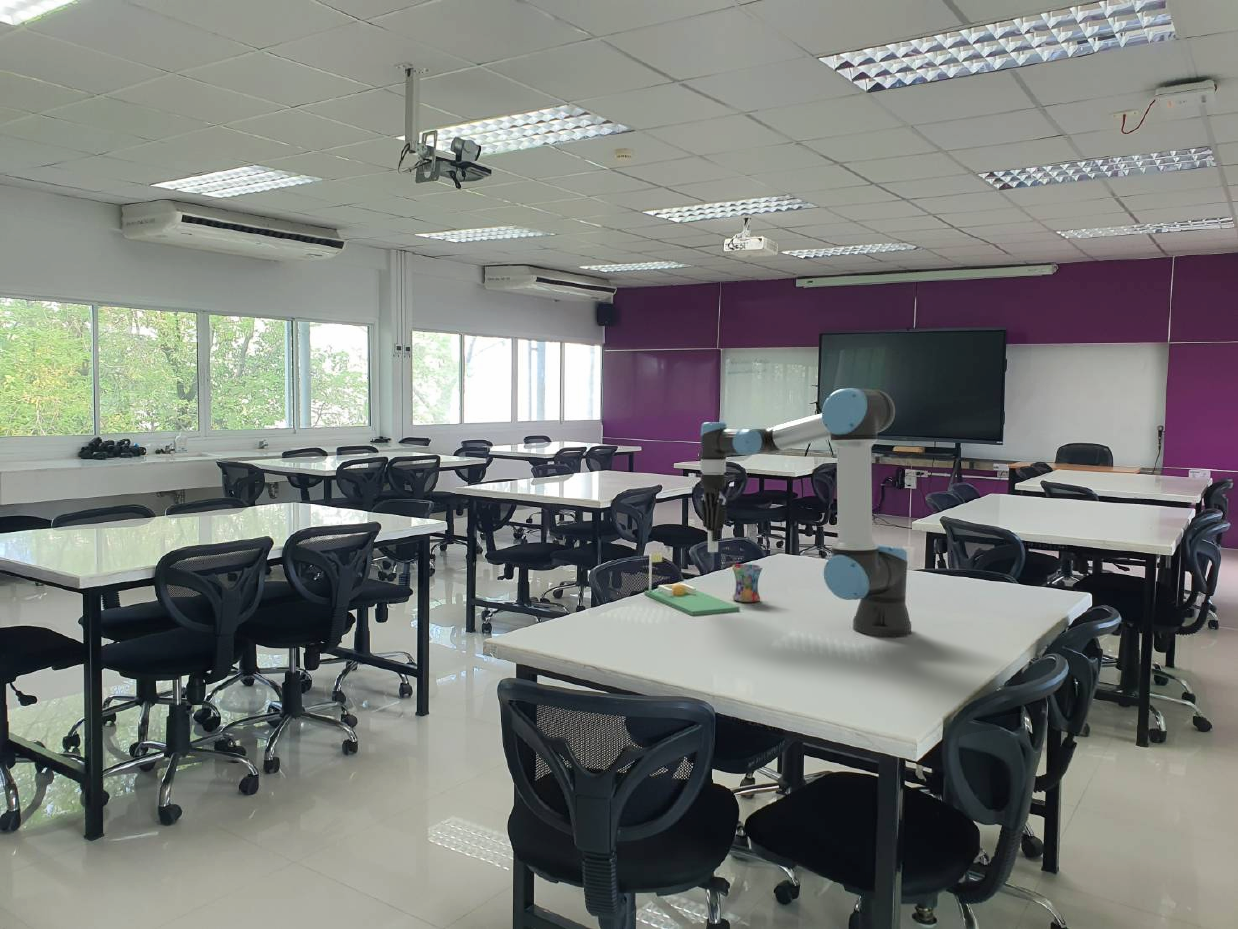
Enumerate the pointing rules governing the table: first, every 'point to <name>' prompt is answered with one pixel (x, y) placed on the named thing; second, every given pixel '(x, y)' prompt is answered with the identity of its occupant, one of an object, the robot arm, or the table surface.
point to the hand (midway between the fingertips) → (712, 551)
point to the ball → (678, 590)
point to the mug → (746, 582)
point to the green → (687, 597)
